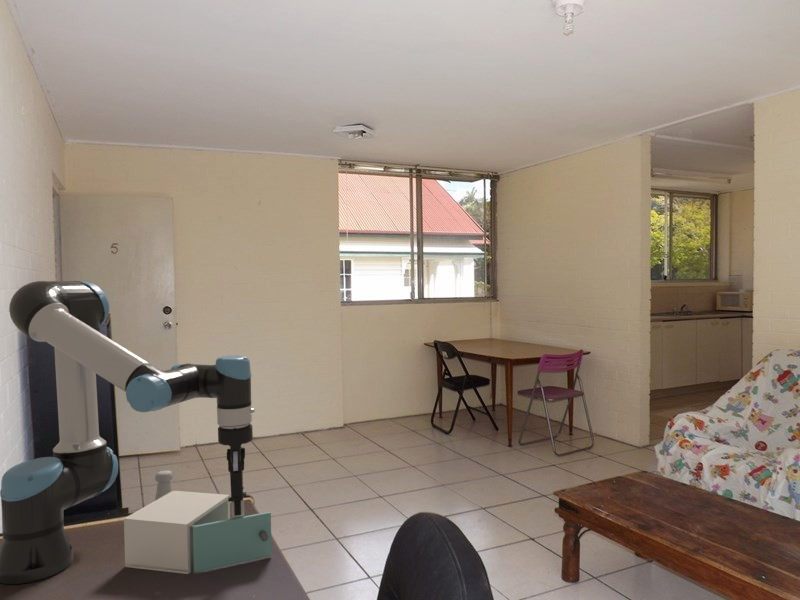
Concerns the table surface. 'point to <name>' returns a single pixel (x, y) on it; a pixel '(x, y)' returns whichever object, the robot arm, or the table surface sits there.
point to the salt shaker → (163, 483)
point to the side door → (230, 541)
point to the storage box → (170, 529)
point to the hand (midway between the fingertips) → (238, 526)
